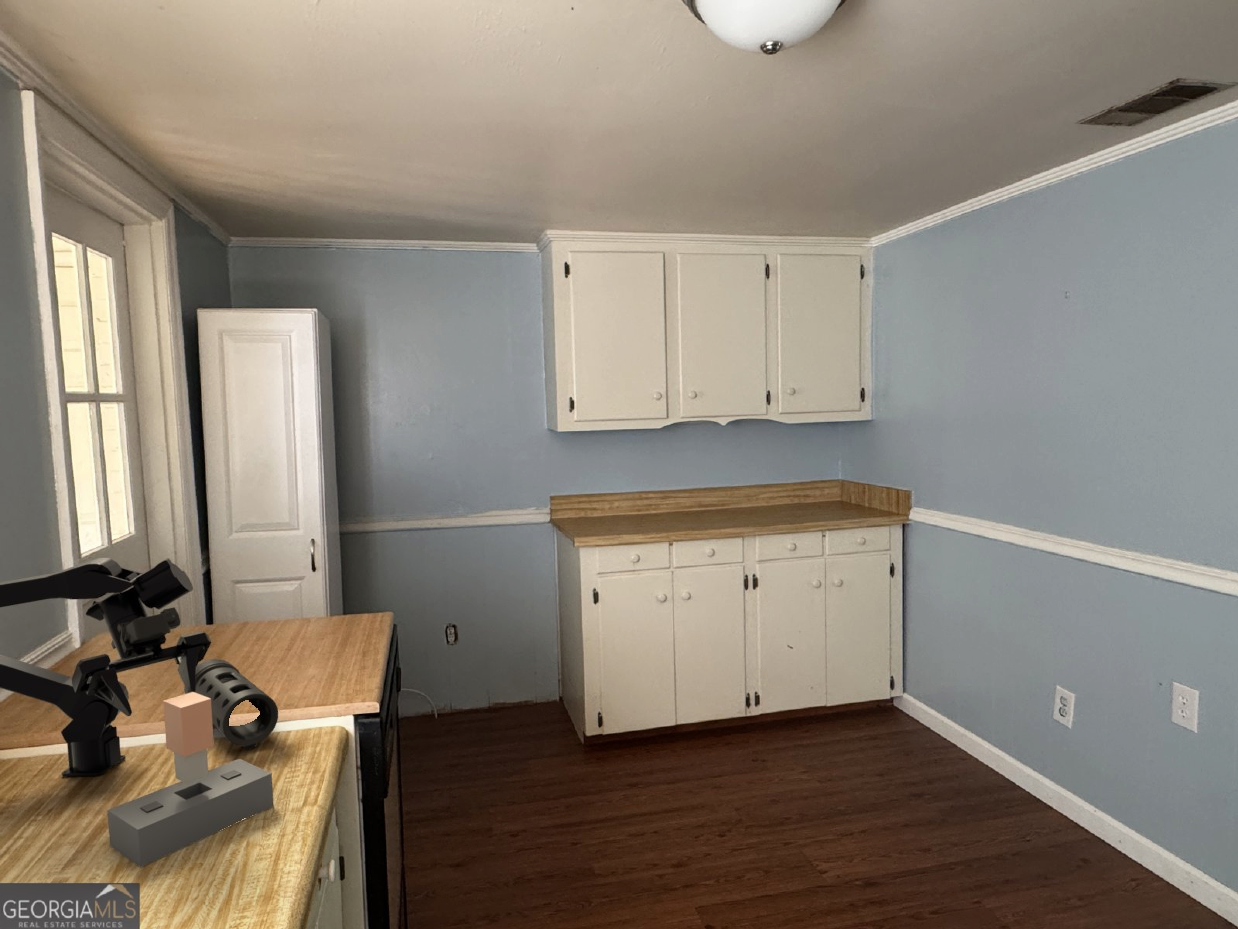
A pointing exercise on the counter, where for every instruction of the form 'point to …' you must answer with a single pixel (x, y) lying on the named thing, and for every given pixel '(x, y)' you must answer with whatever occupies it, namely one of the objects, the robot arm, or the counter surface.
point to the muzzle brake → (235, 702)
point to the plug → (189, 734)
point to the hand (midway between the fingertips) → (162, 705)
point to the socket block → (188, 811)
